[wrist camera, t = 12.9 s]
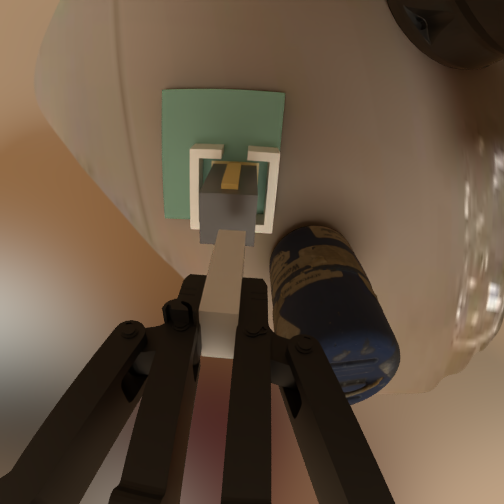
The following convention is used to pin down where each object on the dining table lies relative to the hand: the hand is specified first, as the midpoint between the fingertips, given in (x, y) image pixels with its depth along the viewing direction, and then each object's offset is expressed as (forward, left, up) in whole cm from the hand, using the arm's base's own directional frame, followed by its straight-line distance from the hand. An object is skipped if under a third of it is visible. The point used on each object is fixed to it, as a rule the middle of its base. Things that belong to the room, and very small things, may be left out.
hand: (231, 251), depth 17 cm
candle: (+9, +8, -14) cm, 19 cm away
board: (-2, -2, -14) cm, 14 cm away
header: (0, -1, -13) cm, 13 cm away
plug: (0, -1, -13) cm, 13 cm away
